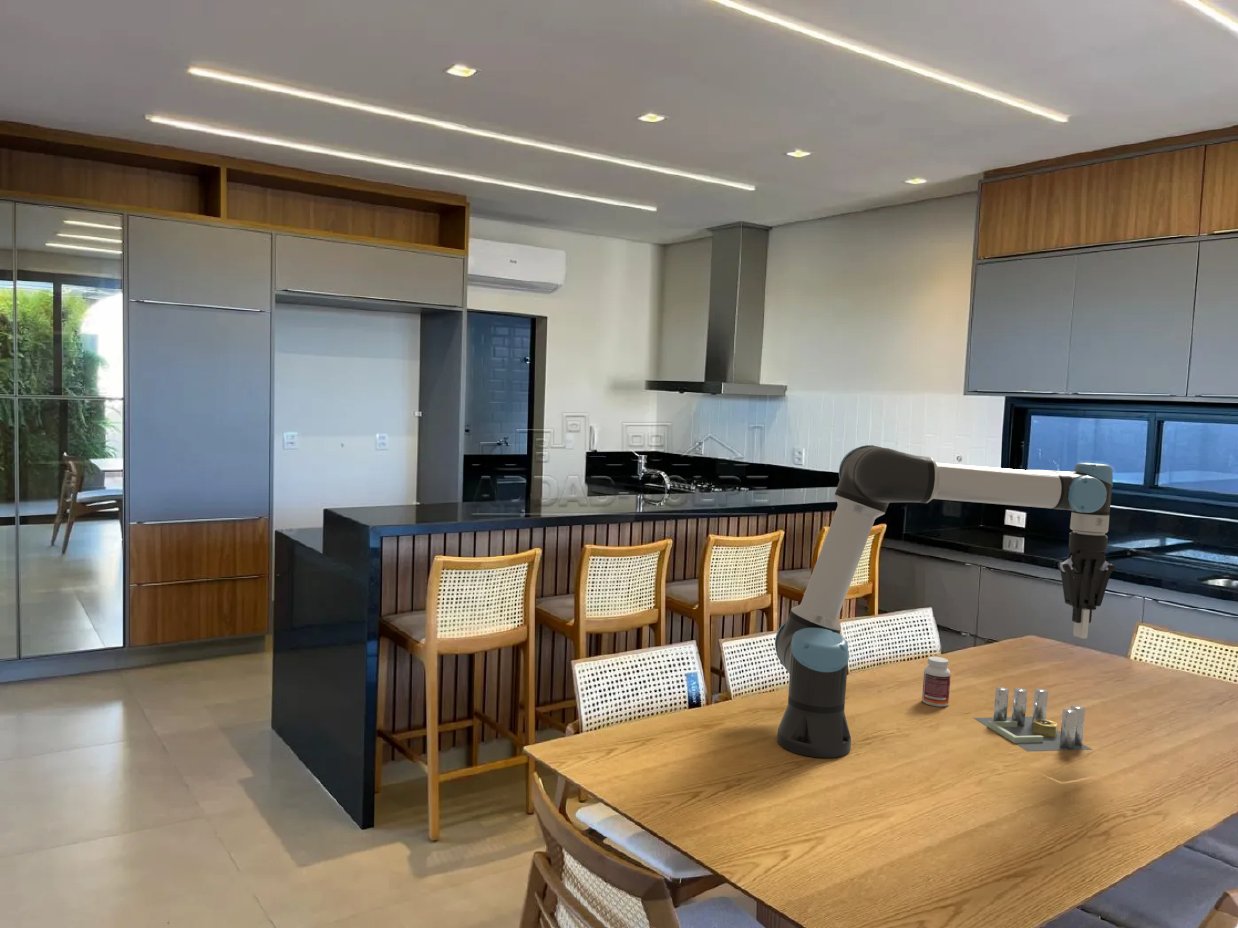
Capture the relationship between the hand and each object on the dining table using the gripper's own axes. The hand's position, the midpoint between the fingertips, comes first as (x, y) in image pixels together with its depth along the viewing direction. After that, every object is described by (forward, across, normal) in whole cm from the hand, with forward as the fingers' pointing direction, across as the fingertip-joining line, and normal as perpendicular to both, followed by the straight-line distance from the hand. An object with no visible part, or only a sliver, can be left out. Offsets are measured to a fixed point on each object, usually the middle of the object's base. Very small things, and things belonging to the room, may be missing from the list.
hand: (1080, 636), depth 199 cm
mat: (+22, -10, 0) cm, 25 cm away
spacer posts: (+22, -9, 0) cm, 24 cm away
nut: (+22, -7, 0) cm, 23 cm away
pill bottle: (+23, -21, +22) cm, 38 cm away
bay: (+22, -14, 0) cm, 26 cm away
